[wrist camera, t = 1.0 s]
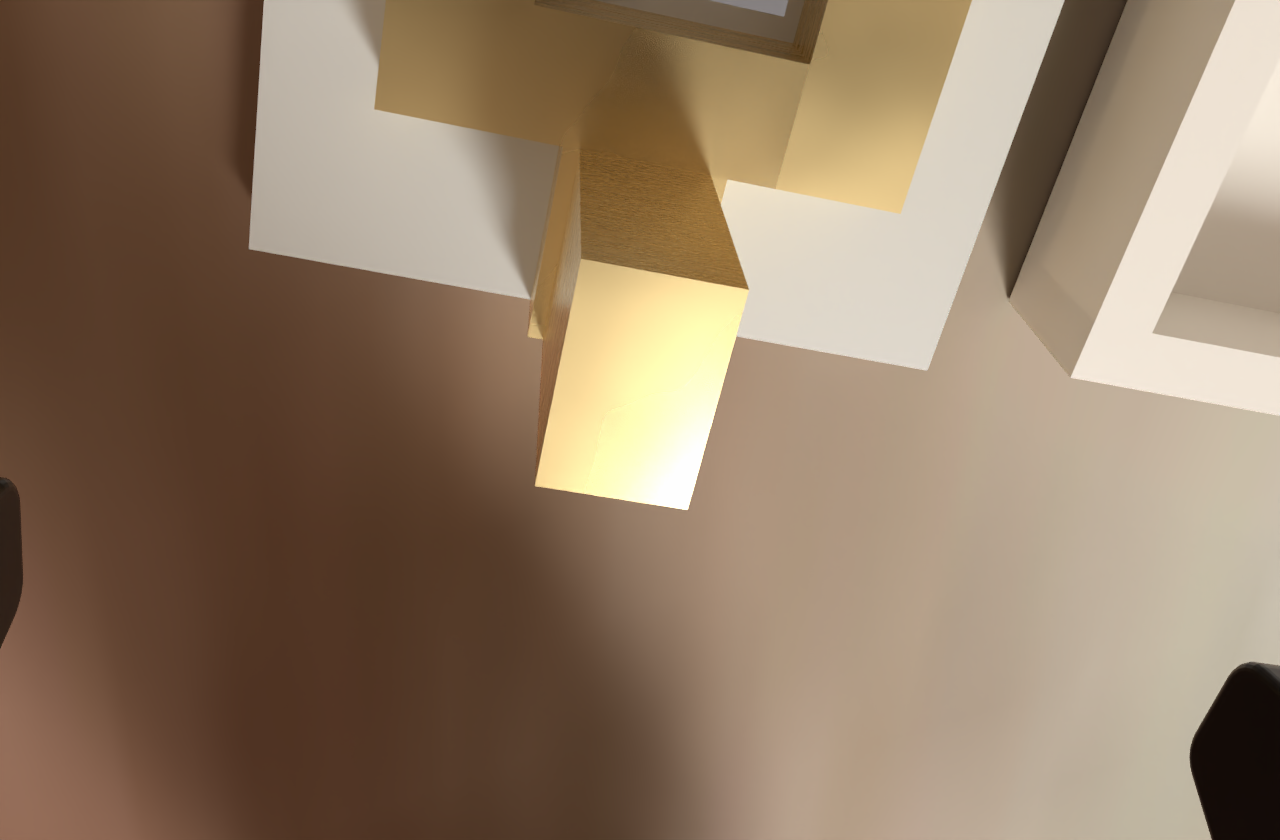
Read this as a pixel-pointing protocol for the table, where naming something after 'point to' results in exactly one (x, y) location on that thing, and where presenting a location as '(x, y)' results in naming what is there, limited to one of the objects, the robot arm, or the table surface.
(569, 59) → the tan notched block
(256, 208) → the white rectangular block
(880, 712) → the table surface
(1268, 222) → the tray
